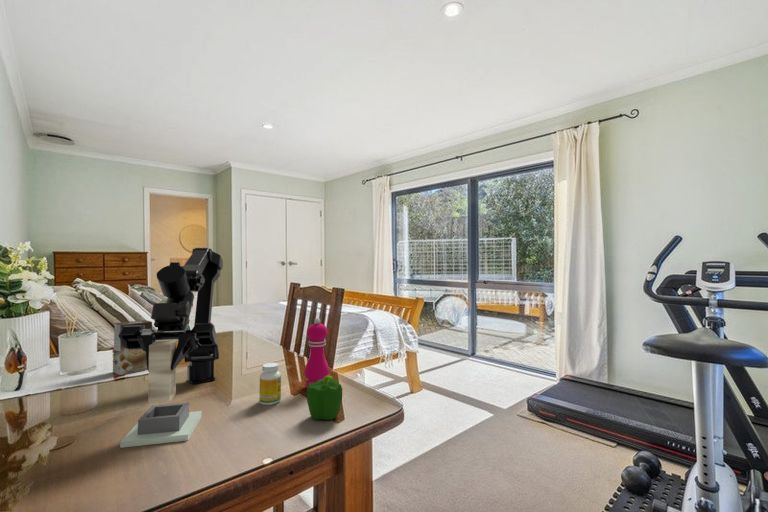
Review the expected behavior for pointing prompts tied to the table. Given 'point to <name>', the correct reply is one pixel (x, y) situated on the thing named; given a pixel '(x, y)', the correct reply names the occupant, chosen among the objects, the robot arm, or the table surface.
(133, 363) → the coffee box
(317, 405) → the bell pepper
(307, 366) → the pepper mill
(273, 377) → the supplement bottle
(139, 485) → the table surface
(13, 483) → the table surface
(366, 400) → the table surface
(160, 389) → the plug block
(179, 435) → the socket holder
